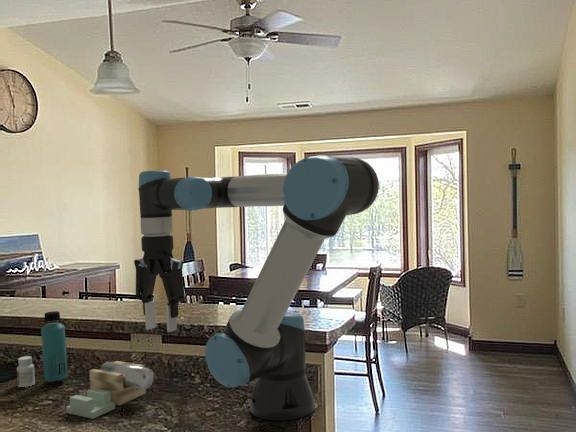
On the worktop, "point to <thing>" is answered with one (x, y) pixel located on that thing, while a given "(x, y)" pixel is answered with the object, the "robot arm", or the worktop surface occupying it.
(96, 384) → the wooden bracket
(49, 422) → the worktop surface
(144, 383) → the axle
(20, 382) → the pill bottle
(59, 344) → the beverage bottle
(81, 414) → the v block
